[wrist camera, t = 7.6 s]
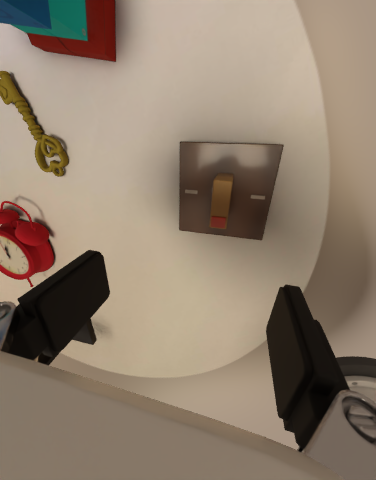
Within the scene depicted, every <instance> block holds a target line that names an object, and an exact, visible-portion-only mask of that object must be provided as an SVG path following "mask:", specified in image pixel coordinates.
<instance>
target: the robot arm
mask: <svg viewBox="0 0 376 480" xmlns="http://www.w3.org/2000/svg"><path fill="white" fill-rule="evenodd" d="M109 294H110V290H109V285H108V279H107V274H106V268H105V263H104V257H103V255H101V253H100V252H98V251H92V250H88V251H86V252H85V253H84V254H82V255H81V256H79V257H78V258H76V259H75V260H73V261H72V262H70V263H69V264H68V265H66V266H65V267H63V268H62V269H60V270H59V271H57V272H56V273H55V274H53V275H52V276H50V277H49V278H47V279H46V280H44V281H43V282H41V283H40V284H39V285H37V286H36V287H34V288H33V289H31V290H30V291H28V292H27V293H26V294H24V295H23V296H21V297H20V298H18V301H19V303H20V304H19V305H18V306H17V307H16V305H15V304H14V303H12V302H0V480H376V378H373V377H368V376H356V375H352V376H344V375H343V373H342V371H341V369H340V366H339V364H338V362H337V360H336V358H335V355H334V353H333V351H332V349H331V346H330V345H329V342H328V340H327V338H326V335H325V333H324V331H323V329H322V327H321V325H320V323H319V322H318V321H317V320H314V319H313V317H312V315H311V312H310V310H309V308H308V305H307V303H306V301H305V298H304V296H303V294H302V291H301V289H300V287H297V286H291V285H285V286H284V287H280V288H279V291H278V294H277V297H276V300H275V303H274V306H273V309H272V312H271V315H270V318H269V321H268V324H267V329H266V335H267V341H268V349H269V356H270V363H271V370H272V377H273V384H274V391H275V398H276V405H277V412H278V416H279V418H282V419H283V422H284V428H285V430H287V431H290V432H293V433H294V434H295V439H296V443H297V444H298V445H299V448H298V449H297V450H295V449H293V448H290V447H288V446H286V445H283V444H281V443H278V442H276V441H273V440H271V439H268V438H266V437H263V436H260V435H257V434H255V433H252V432H249V431H246V430H243V429H240V428H237V427H235V426H232V425H229V424H226V423H223V422H221V421H218V420H215V419H212V418H209V417H206V416H203V415H199V414H197V413H193V412H190V411H187V410H184V409H181V408H178V407H175V406H172V405H169V404H166V403H163V402H160V401H157V400H154V399H151V398H148V397H145V396H142V395H138V394H136V393H132V392H129V391H126V390H123V389H120V388H117V387H114V386H111V385H108V384H105V383H102V382H98V381H95V380H92V379H89V378H86V377H83V376H80V375H77V374H73V373H70V372H67V371H64V370H61V369H58V368H55V367H52V366H48V365H45V364H42V363H39V362H38V357H39V355H40V354H41V353H42V352H43V354H44V355H47V356H50V357H53V358H54V356H55V355H56V354H57V353H58V352H59V351H61V350H63V349H64V348H65V347H66V346H67V344H68V343H69V342H70V341H71V340H72V339H73V338H74V336H75V335H76V334H77V333H78V332H79V331H80V329H81V328H82V327H83V326H84V325H85V324H86V323H87V321H88V320H89V319H90V318H91V317H92V316H93V314H94V313H95V312H96V311H97V310H98V309H99V308H100V306H101V305H102V304H103V303H104V302H105V301H106V299H107V298H108V297H109Z"/></svg>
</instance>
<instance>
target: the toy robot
mask: <svg viewBox="0 0 376 480" xmlns="http://www.w3.org/2000/svg"><path fill="white" fill-rule="evenodd" d="M0 23H5V24H11V25H12V26H14V27H16V28H18V29H20V30H22V31H24V32H26V33H27V35H28V37H29V39H30V42H31V44H32V45H34V46H36V47H38V48H40V49H42V50H44V51H47V52H53V53H60V54H67V55H74V56H81V57H87V58H94V59H101V60H108V61H115V62H116V54H115V0H0Z"/></svg>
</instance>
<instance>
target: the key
mask: <svg viewBox="0 0 376 480" xmlns="http://www.w3.org/2000/svg"><path fill="white" fill-rule="evenodd" d="M0 77H1V79H0V96H1V98H2V100H3V101H4V103H5V104H7V105H9V104H10V103H12V102H13V103H15V106H16V108H18V112H19V113H21V114H22V115H23V120H24V121H25V122H27V124H28V126H29V127H28V129H29V131H31V134H32V135H33V136H34V140H37V144H36V148H35V157H36V160H37V163H38V165H39V166H40V168H41V169H42V170H43V171H45V172H53V173H54V174H55V175H56V176H58V177H59V176H63V175H64V171H63V168H62V167H65V166H66V165H67V164H68V157H67V155H66V153H65V152H64V150H63V147H62V145H61V143H60V142H59V141H58V140H57V139H55V138H54V137H51V136H48V135H42V133H43V132H42V130H40V126H38V125H36V123H35V122H34V120H35V117H34V116H32V115H31V114H30V112H31V110H30V108H28V104H27V103H26V102H25V99H24V98H23V97H21V96H20V94H19V93H18V91H17V89H16V87H15V85H14V84H13V82H12V80H11V78H10V74H9V73H8V72H7V71H0ZM47 139H48V140H50V141H48V140H47ZM51 141H52V142H51ZM47 145H48V146H50V147H51V148H52V149H51V150H50V153H49V152H48V150H47ZM55 153H57V154H58V155H59V157H60V159H61V162H60V163H59V162H57V161H55V160H53V161H50V166H49V167H48V166H47V164H46V162H45V160H44V155H45V156H47V157H53V156H54V154H55ZM43 154H44V155H43ZM57 168H58V170H59V172H60V173H58V172H57Z"/></svg>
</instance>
